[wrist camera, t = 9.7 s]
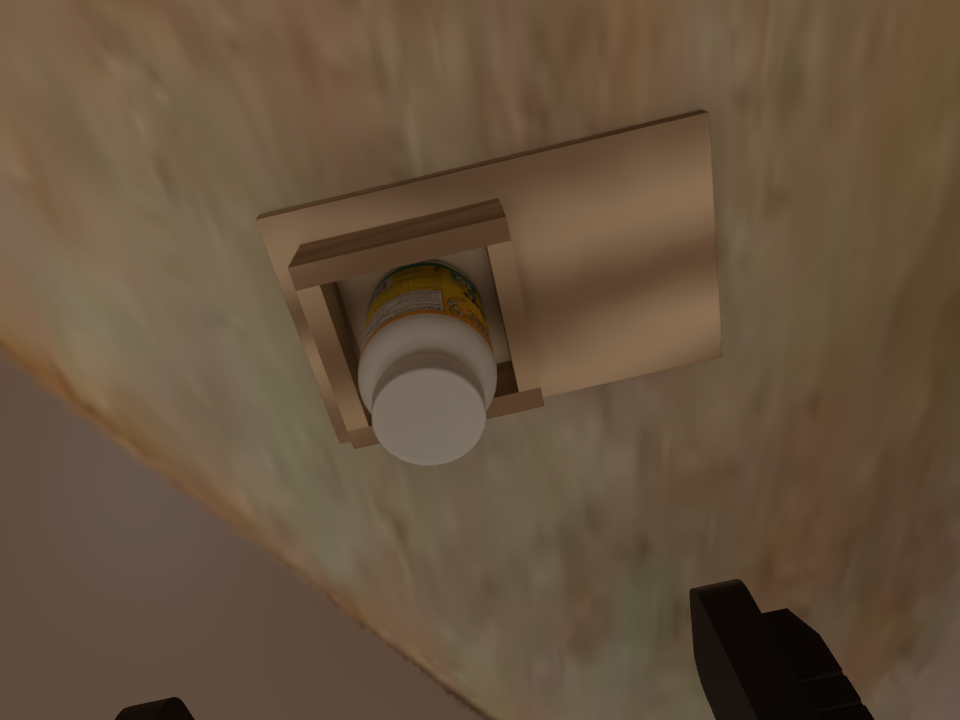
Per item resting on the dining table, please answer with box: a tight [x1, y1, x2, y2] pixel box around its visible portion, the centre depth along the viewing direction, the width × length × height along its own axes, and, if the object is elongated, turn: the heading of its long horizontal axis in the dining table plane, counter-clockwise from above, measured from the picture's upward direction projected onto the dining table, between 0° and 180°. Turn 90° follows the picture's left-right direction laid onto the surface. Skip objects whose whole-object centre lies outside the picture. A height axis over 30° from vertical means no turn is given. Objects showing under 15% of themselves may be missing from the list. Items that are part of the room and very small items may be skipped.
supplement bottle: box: [358, 260, 497, 466], centre depth 27 cm, size 5×5×10 cm
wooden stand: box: [256, 110, 722, 449], centre depth 31 cm, size 12×20×4 cm, turn 102°
